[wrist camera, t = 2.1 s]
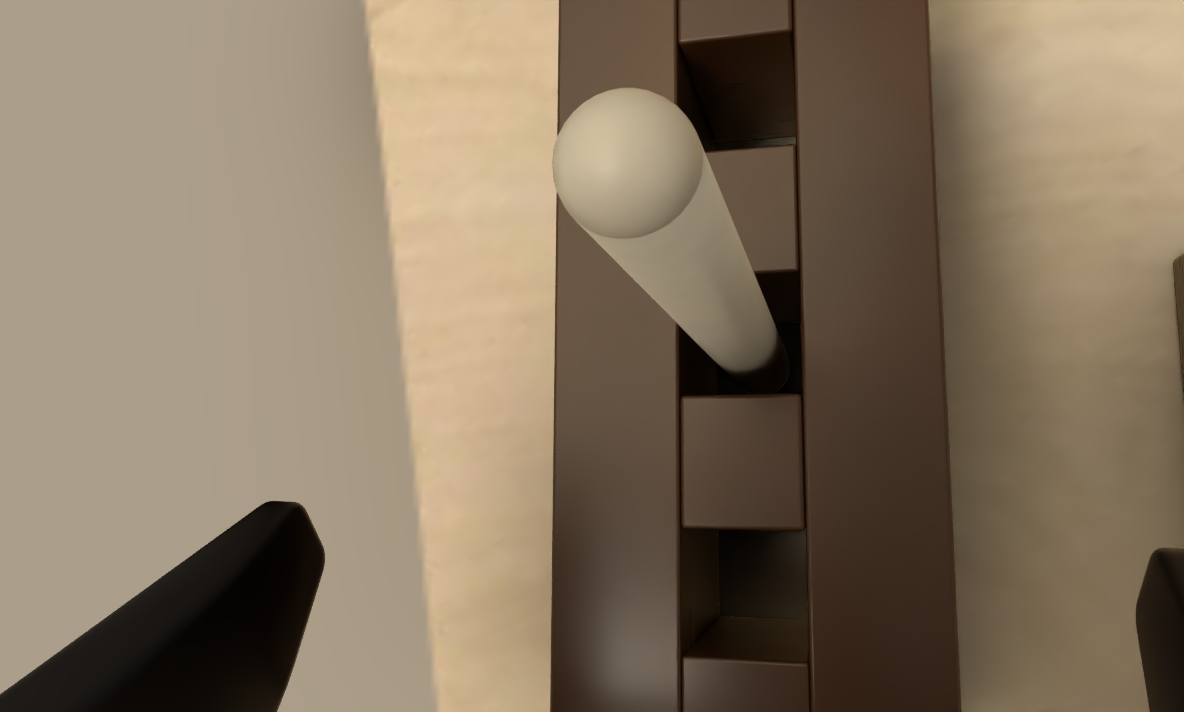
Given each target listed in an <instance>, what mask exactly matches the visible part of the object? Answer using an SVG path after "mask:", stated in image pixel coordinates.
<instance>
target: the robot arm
mask: <svg viewBox="0 0 1184 712" xmlns="http://www.w3.org/2000/svg"><path fill="white" fill-rule="evenodd" d="M324 564H325V553H324V548H323V545H322V543H321V541H320V539H319V537H318V534H317V532H316V530H315V528H314V526H313V524H312V522H311V520H310V518H309V516H308V513H307V512H306V510H305V508H304V507H303V506H302V505H300V504H299V503H296V502H282V501H270V502H266V503H264V504H262V505H261V506H259V507H258V508H256V509H255V510H254V511H252V512H251V513H249V514H248V515H247V516H245V517H244V518H242V519H241V520H240V521H238V522H237V523H236V524H234V525H233V526H231V528H229V529H227V530H226V531H225V532H223V533H222V534H220V535H219V536H218V537H216V538H215V539H214V540H213V541H211V542H210V543H208V544H207V545H205V546H204V547H203V548H201V549H200V550H198V551H197V552H196V553H194V554H193V555H192V556H190V557H189V558H188V559H186V560H185V561H183V562H182V563H181V564H179V565H178V566H176V567H175V568H174V569H172V570H171V571H170V572H168V573H167V574H165V575H164V576H163V577H161V578H160V579H159V580H157V581H156V582H154V583H153V584H152V585H150V586H149V587H148V588H146V589H145V590H144V591H142V592H141V593H139V594H138V595H137V596H135V597H134V598H132V599H131V600H130V601H128V602H127V603H126V604H124V605H123V606H121V607H120V608H119V609H117V610H116V611H114V612H113V613H112V614H111V615H109V616H108V617H106V618H105V619H104V620H102V621H101V622H99V623H98V624H97V625H95V626H94V627H92V628H91V629H90V630H88V631H87V632H86V633H84V634H83V635H81V636H80V637H79V638H77V639H76V640H75V641H73V642H72V643H70V644H69V645H68V646H66V647H65V648H64V649H62V650H61V651H59V652H58V653H57V654H55V655H54V656H53V657H51V658H50V659H48V660H47V661H46V662H44V663H43V664H42V665H40V666H39V667H37V668H36V669H35V670H33V671H32V672H31V673H29V674H28V675H27V676H25V677H24V678H22V679H21V680H19V681H18V682H17V683H15V684H14V685H13V686H11V687H10V688H8V689H7V690H6V691H4V692H3V693H1V694H0V712H277V710H278V708H279V705H280V703H281V700H282V698H283V695H284V693H285V690H286V687H287V685H288V682H289V679H290V676H291V673H292V670H293V667H294V664H295V661H296V658H297V655H298V651H299V648H300V645H301V641H302V638H303V635H304V632H305V628H306V625H307V622H308V619H309V615H310V612H311V609H312V606H313V602H314V599H315V596H316V592H317V589H318V586H319V582H320V579H321V576H322V573H323V569H324ZM1136 628H1137V634H1138V640H1139V647H1140V653H1141V659H1142V665H1143V672H1144V678H1145V684H1146V690H1147V696H1148V703H1149V709H1150V712H1184V549H1175V548H1159V549H1157V550H1155V551H1154V552H1153V553H1152V555H1151V557H1150V560H1149V563H1148V566H1147V570H1146V573H1145V576H1144V580H1143V583H1142V587H1141V590H1140V593H1139V597H1138V600H1137V604H1136Z"/></svg>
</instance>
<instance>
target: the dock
mask: <svg viewBox="0 0 1184 712" xmlns="http://www.w3.org/2000/svg"><path fill="white" fill-rule="evenodd" d="M618 88H639V89H644V90H648V91H651V92H653V93H656V94H658V95H660V96H663V97H665V98H667V99H668V100H670V101H671V102H672V103H674V104H675V105H677V106H678V107H679V109H680V110H681V111H682V112H683V113H684V114H685V115H686V116H687V118H688V119H689V120H690V122H691V123H692V125H693V127H694V128H695V130H696V132H697V135H698V137H699V139H700V142H701V144H702V147H703V149H704V152H705V154H706V157H707V159H708V162H709V164H710V166H711V169H712V171H713V174H714V176H715V179H716V181H717V184H718V186H719V189H720V191H721V193H722V196H723V198H724V201H725V203H726V206H727V208H728V211H729V213H730V216H731V218H732V220H733V223H734V225H735V228H736V230H737V233H738V235H739V238H740V240H741V243H742V245H743V247H744V250H745V252H746V255H747V257H748V260H749V262H750V265H751V267H752V270H753V272H754V274H755V277H756V279H757V282H758V284H759V287H760V289H761V292H762V294H763V297H764V299H765V301H766V304H767V306H768V309H769V311H770V314H771V316H772V319H773V321H774V324H789V323H801V359H802V396H801V395H800V394H798V393H786V394H733V395H717V367H716V362H715V361H714V360H713V359H712V358H711V357H710V356H709V355H708V354H707V353H706V352H705V351H704V350H703V349H702V348H701V347H700V346H699V345H698V344H697V343H696V342H695V341H694V340H693V339H692V338H691V337H690V336H689V335H688V334H687V333H686V332H685V331H684V330H683V329H682V328H681V327H680V326H679V325H678V324H677V323H676V322H675V321H674V320H673V319H672V318H671V317H670V315H669V314H668V313H667V312H666V311H665V310H664V309H663V308H662V307H661V306H660V305H659V304H658V303H657V302H656V301H655V300H654V299H653V298H652V297H651V296H650V295H649V294H648V293H647V292H646V291H645V290H644V289H643V288H642V287H641V286H640V285H639V284H638V283H637V282H636V281H635V280H634V279H633V278H632V277H631V276H630V275H629V274H628V273H627V272H626V271H625V270H624V269H623V268H622V267H621V266H620V265H619V264H618V263H617V262H616V261H615V260H614V259H613V258H612V257H611V256H610V255H609V254H608V253H607V252H606V251H605V250H604V249H603V248H602V247H601V246H600V245H599V244H598V243H597V242H596V241H595V240H594V239H593V238H592V237H591V236H590V235H589V234H588V233H587V232H586V231H585V230H584V229H583V228H582V227H581V226H580V225H579V224H578V223H577V222H576V221H575V220H574V218H573V217H572V216H571V215H570V214H569V213H568V211H567V210H566V208H565V207H564V205H563V203H562V201H561V199H560V197H559V195H558V193H557V205H556V286H555V368H554V449H553V531H552V612H551V694H550V712H962V708H961V687H960V665H959V644H958V622H957V601H956V579H955V558H954V536H953V515H952V493H951V472H950V450H949V429H948V407H947V386H946V364H945V343H944V321H943V300H942V278H941V257H940V235H939V214H938V192H937V171H936V149H935V128H934V106H933V84H932V63H931V41H930V20H929V0H559V42H558V123H557V137H558V135H559V133H560V131H561V129H562V127H563V125H564V123H565V122H566V121H567V119H568V118H569V117H570V115H571V114H572V113H573V112H574V111H575V110H576V109H577V108H578V107H579V106H580V105H582V104H583V103H584V102H586V101H587V100H589V99H590V98H592V97H594V96H595V95H598V94H600V93H603V92H605V91H608V90H613V89H618ZM787 136H796V146H795V145H793V144H792V145H780V146H768V147H756V148H744V149H733V150H721V151H714V141H715V142H717V143H718V142H730V141H741V140H752V139H764V138H775V137H787ZM805 528H806V560H807V600H808V620H801V619H776V618H752V617H727V616H722V617H720V616H719V533H718V530H768V531H802V530H804V529H805Z"/></svg>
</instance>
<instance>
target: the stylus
mask: <svg viewBox="0 0 1184 712" xmlns="http://www.w3.org/2000/svg"><path fill="white" fill-rule="evenodd" d="M552 163H553V178H554V183H555V187H556V190H557V193H558V195H559V197H560V199H561V201H562V203H563V205H564V207H565V208H566V210H567V211H568V213H569V214H570V215H571V216H572V217H573V218H574V220H575V221H576V222H577V223H578V224H579V225H580V226H581V227H582V228H583V229H584V230H585V231H586V232H587V233H588V234H589V235H590V236H591V237H592V238H593V239H594V240H595V241H596V242H597V243H598V244H599V245H600V246H601V247H602V248H603V249H604V250H605V251H606V252H607V253H608V254H609V255H610V256H611V257H612V258H613V259H614V260H615V261H616V262H617V263H618V264H619V265H620V266H621V267H622V268H623V269H624V270H625V271H626V272H627V273H628V274H629V275H630V276H631V277H632V278H633V279H634V280H635V281H636V282H637V283H638V284H639V285H640V286H641V287H642V288H643V289H644V290H645V291H646V292H647V293H648V294H649V295H650V296H651V297H652V298H653V299H654V300H655V301H656V302H657V303H658V304H659V305H660V306H661V307H662V308H663V309H664V310H665V311H666V312H667V313H668V314H669V315H670V317H671V318H672V319H673V320H674V321H675V322H676V323H677V324H678V325H679V326H680V327H681V328H682V329H683V330H684V331H685V332H686V333H687V334H688V335H689V336H690V337H691V338H692V339H693V340H694V341H695V342H696V343H697V344H698V345H699V346H700V347H701V348H702V349H703V350H704V351H705V352H706V353H707V354H708V355H709V356H710V357H711V358H712V359H713V360H714V361H715V362H716V363H717V364H718V365H719V366H720V367H721V368H722V369H723V370H724V371H725V372H726V373H727V374H728V375H729V376H730V377H731V378H732V379H733V380H734V381H735V382H736V383H737V384H738V385H739V386H740V387H741V388H742V389H743V390H745V391H746V392H748V393H750V394H772V393H774V392H776V391H778V390H779V389H780V388H781V387H782V386H783V385H784V384H785V382H786V380H787V378H788V376H789V372H790V362H789V358H788V355H787V353H786V351H785V348H784V346H783V343H782V341H781V338H780V336H779V333H778V331H777V328H776V326H775V324H774V321H773V319H772V316H771V314H770V311H769V309H768V306H767V304H766V301H765V299H764V297H763V294H762V292H761V289H760V287H759V284H758V282H757V279H756V277H755V274H754V272H753V270H752V267H751V265H750V262H749V260H748V257H747V255H746V252H745V250H744V247H743V245H742V243H741V240H740V238H739V235H738V233H737V230H736V228H735V225H734V223H733V220H732V218H731V216H730V213H729V211H728V208H727V206H726V203H725V201H724V198H723V196H722V193H721V191H720V189H719V186H718V184H717V181H716V179H715V176H714V174H713V171H712V169H711V166H710V164H709V162H708V159H707V157H706V154H705V152H704V149H703V147H702V144H701V142H700V139H699V137H698V135H697V132H696V130H695V128H694V127H693V125H692V123H691V122H690V120H689V119H688V118H687V116H686V115H685V114H684V113H683V112H682V111H681V110H680V109H679V107H678V106H677V105H675V104H674V103H672V102H671V101H670V100H668V99H667V98H665V97H663V96H660V95H658V94H656V93H653V92H651V91H648V90H644V89H639V88H618V89H613V90H608V91H605V92H603V93H600V94H598V95H595V96H594V97H592V98H590V99H589V100H587V101H586V102H584V103H583V104H582V105H580V106H579V107H578V108H577V109H576V110H575V111H574V112H573V113H572V114H571V115H570V117H569V118H568V119H567V121H566V122H565V123H564V125H563V127H562V129H561V131H560V133H559V135H558V137H557V140H556V143H555V147H554V153H553V162H552Z"/></svg>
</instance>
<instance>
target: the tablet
mask: <svg viewBox="0 0 1184 712" xmlns="http://www.w3.org/2000/svg"><path fill="white" fill-rule="evenodd" d="M1173 269H1174V281H1175V293H1176V305H1177V317H1178V330H1179V342H1180V354H1181V366H1182V379H1183V391H1184V254H1182V255H1181V256H1179V257H1178V258H1176V259H1175V260H1174V262H1173Z"/></svg>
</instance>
